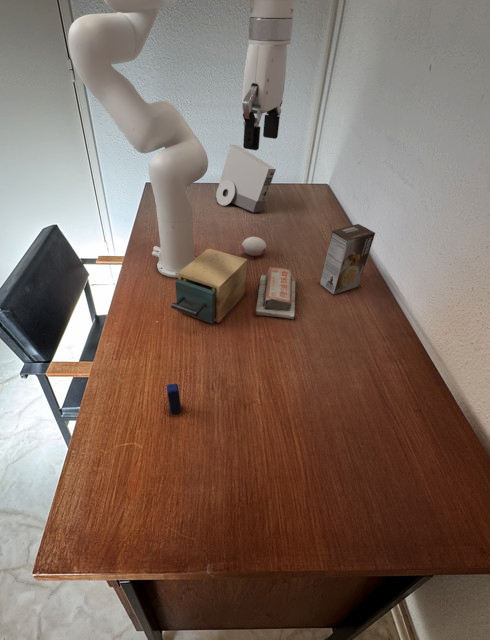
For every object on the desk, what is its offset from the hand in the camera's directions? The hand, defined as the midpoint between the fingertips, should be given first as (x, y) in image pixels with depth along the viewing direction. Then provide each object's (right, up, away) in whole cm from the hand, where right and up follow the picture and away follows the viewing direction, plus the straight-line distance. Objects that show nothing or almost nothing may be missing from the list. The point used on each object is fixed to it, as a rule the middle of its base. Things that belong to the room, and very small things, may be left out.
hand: (260, 143), depth 77 cm
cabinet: (-10, -29, +22) cm, 38 cm away
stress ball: (+3, -10, +41) cm, 42 cm away
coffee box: (+26, -23, +28) cm, 45 cm away
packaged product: (+7, -28, +24) cm, 37 cm away
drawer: (-13, -31, +19) cm, 39 cm away
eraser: (-18, -56, -3) cm, 59 cm away
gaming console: (0, +17, +67) cm, 69 cm away
